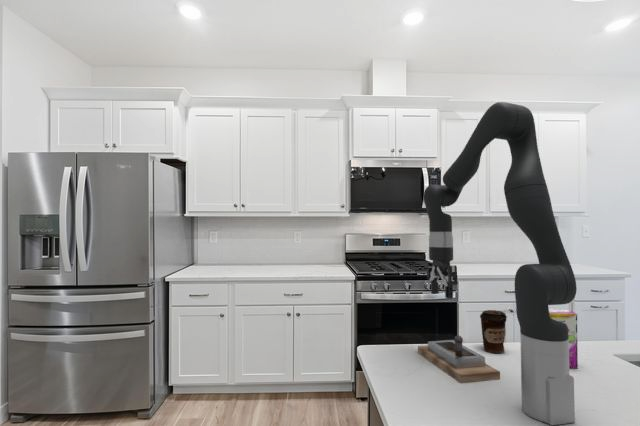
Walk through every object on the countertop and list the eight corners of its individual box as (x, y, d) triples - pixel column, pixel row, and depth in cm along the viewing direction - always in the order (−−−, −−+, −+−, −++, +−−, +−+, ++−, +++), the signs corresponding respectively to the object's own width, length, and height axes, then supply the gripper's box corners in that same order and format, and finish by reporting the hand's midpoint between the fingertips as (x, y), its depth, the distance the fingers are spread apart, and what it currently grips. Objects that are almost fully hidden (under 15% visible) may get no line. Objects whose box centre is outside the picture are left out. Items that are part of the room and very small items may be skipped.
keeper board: (500, 379, 98) (499, 344, 98) (461, 382, 95) (460, 348, 96) (450, 349, 121) (449, 322, 122) (417, 352, 119) (417, 324, 119)
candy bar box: (539, 368, 106) (538, 312, 106) (531, 361, 111) (529, 308, 111) (579, 369, 105) (578, 313, 105) (569, 363, 110) (567, 309, 110)
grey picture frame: (485, 366, 102) (484, 357, 102) (456, 368, 100) (456, 359, 100) (453, 347, 117) (452, 339, 117) (427, 349, 115) (427, 341, 115)
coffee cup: (513, 355, 116) (512, 315, 116) (487, 355, 116) (486, 314, 117) (500, 346, 125) (499, 309, 125) (476, 346, 125) (475, 308, 125)
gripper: (464, 246, 110) (465, 299, 110) (439, 244, 124) (440, 291, 124) (442, 246, 109) (443, 300, 108) (419, 244, 123) (420, 292, 122)
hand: (441, 295), depth 116 cm, fingers open, 8 cm apart
